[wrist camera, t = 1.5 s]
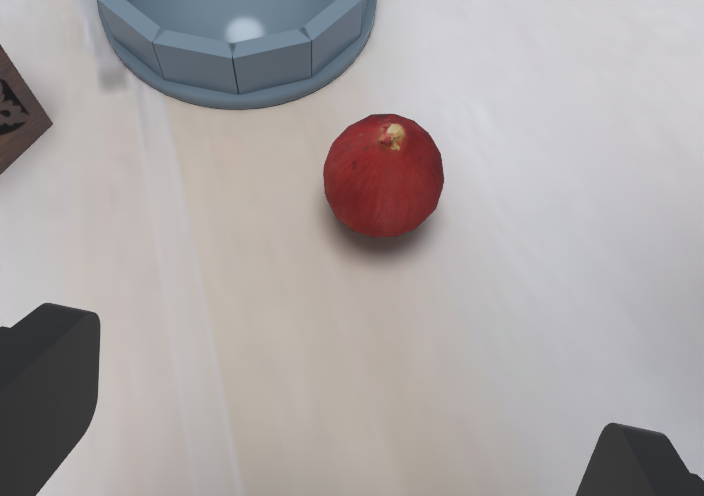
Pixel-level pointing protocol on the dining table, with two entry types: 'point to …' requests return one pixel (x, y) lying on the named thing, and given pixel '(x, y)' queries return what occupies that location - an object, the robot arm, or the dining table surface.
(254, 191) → the dining table surface
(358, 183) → the onion
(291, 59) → the bowl
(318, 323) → the dining table surface
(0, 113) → the tissue box cover
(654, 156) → the dining table surface
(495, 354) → the dining table surface
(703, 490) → the robot arm
